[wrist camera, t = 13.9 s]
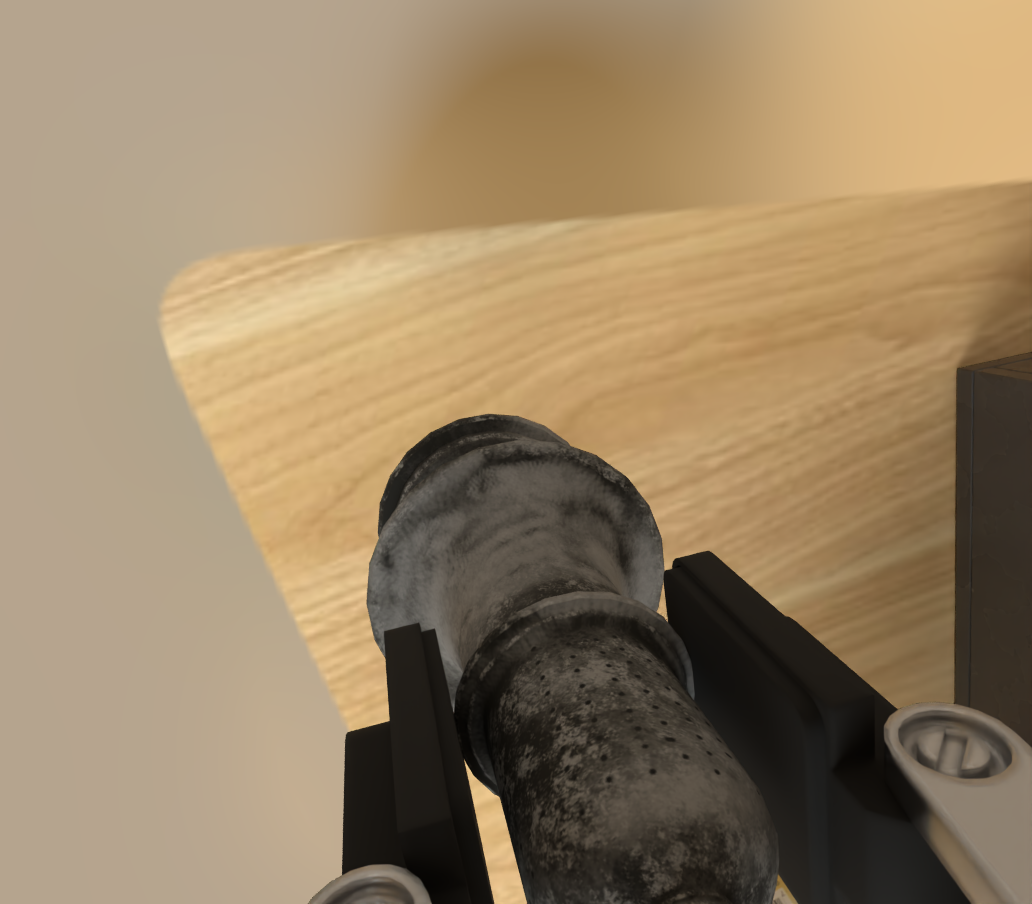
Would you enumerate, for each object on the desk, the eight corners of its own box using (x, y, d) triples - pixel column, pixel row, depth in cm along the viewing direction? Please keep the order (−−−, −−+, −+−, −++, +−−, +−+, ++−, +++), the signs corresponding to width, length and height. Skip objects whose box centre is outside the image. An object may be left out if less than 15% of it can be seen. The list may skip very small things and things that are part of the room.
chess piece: (486, 347, 16) (782, 587, 5) (653, 507, 18) (1138, 940, 7) (310, 537, 17) (210, 1163, 5) (493, 674, 19) (704, 1344, 7)
